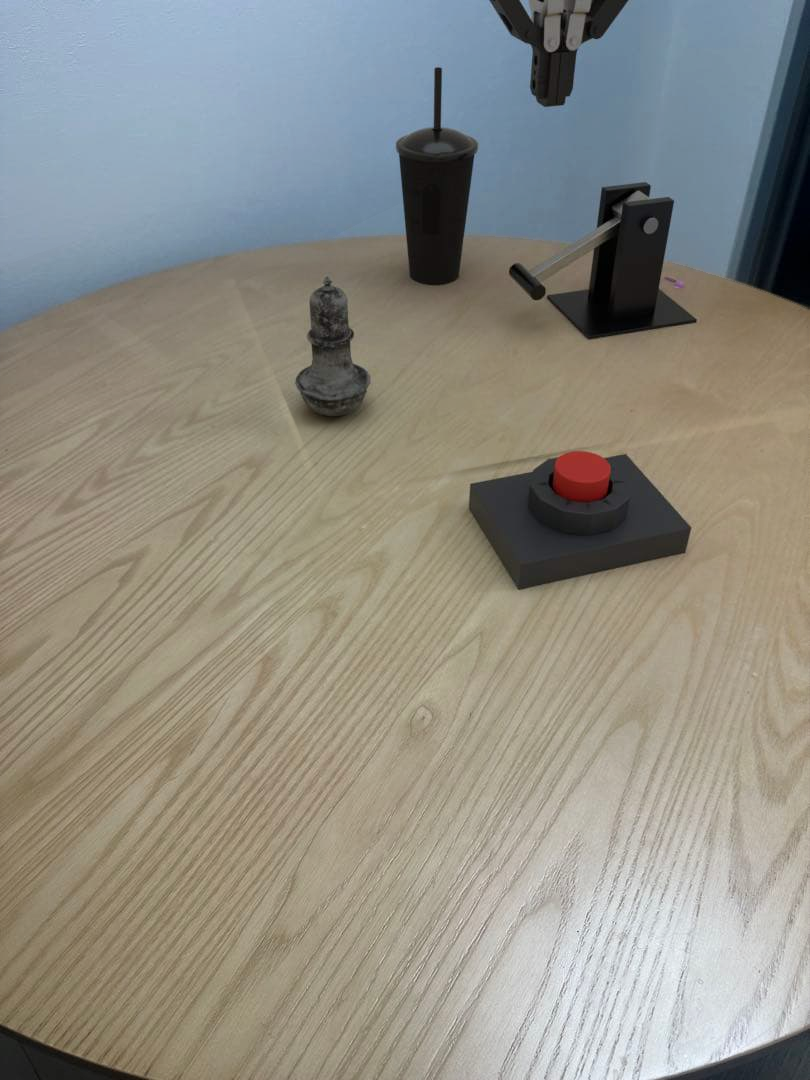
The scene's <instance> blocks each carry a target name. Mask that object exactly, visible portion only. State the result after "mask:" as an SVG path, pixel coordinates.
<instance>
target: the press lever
mask: <svg viewBox="0 0 810 1080" xmlns="http://www.w3.org/2000/svg"><path fill="white" fill-rule="evenodd" d="M647 199H652V198H651V197H650V196H649V197H648V196H646V195H645V194H643V193H642V192H640V191H639V190H638V191H636V192H635V193H633V194H632V195H630V196H628V197H627V198H625V199H624V200H622V201H621V202H619V203H617V204H616V205H614V206H613V207H612V211H613V213H614V216H615V217H614V218H613V219H611V220H609V221H608V222H606V223H605V224H603V225H601V226H600V227H598V228H597V227H596V228H595V229H593V230H591V231H590V232H589V233H587V234H585V235H584V236H582V237H581V238H579V239H577V240H576V241H574V242H573V243H571V244H569V245H568V246H566V247H565V248H563V249H562V250H559V251H558V252H557V253H555V254H553V255H552V256H551V257H549V258H547V259H546V260H544V261H543V262H541V263H539V264H538V265H536V266H534V267H533V268H531V269H530V270H528V269H527V268H526V267H525V266H524V265H523V264H522V263H520V262H516V263H513V264H512V265H511V266H509V270H508V275H509V277H510V278H511V279H512V280H513V281H514V282H515V283H516V284H517V285H518V286H519V287H520V288H521V289H522V290H523V291H524V292H525V293H526V294H527V295H528V296H529V298H531V299H532V300H533V301H537V302H538V301H540V300H542V299H544V297H545V295H546V292H547V289H546V287H545V285H543V284H542V282H543V281H545V280H546V279H548V278H550V277H551V276H553V275H555V274H556V273H558V272H559V271H561V270H563V269H564V268H566V267H567V266H569V265H571V264H572V263H574V262H576V261H577V260H578V259H580V258H582V257H583V256H585V255H587V254H588V253H589V252H592V251H594V248H596V247H598V246H599V245H601V244H602V243H604V242H606V241H607V240H609V239H610V238H612V237H614V236H615V235H617V234H618V233H619V229H620V222H621V215H622V208H623V203H624V202H631V201H639V200H647Z"/></svg>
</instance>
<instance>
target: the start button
mask: <svg viewBox="0 0 810 1080" xmlns="http://www.w3.org/2000/svg"><path fill="white" fill-rule="evenodd" d="M558 457H559V458H558V459H557V460H556V462H555V468H554V476H553V489H554V491H555V493H556V494H557V495H559V496H561V497H563V498H565V499H567V500H569V501H576V502H584V503H588V502H593V501H598V500H601V499H602V498H603V497H604V496H605V495H606V494H607V491H608V485H609V478H610V472H611V468H610V465H609V463H608V462H607V461H606V460H605V459H604V458H605V457H603V456H601V455H599V454H596V453H595V452H591V451H585V450H576V451H575V450H574V451H567V452H565V453H563V454H561V455H560V456H558Z"/></svg>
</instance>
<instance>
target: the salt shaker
mask: <svg viewBox="0 0 810 1080" xmlns="http://www.w3.org/2000/svg"><path fill="white" fill-rule="evenodd" d="M332 283H333V281H332V279H331V278H330V277H329V276H327V275H326V277H325V278H324V279H323V281H322V284H323V286H320V287H319V288H317V289H315V290H314V291H313V292H312V293H311V295H310V296H309V313H310V315H309V316H310V317H309V318H310V328H311V329H309V330H308V331H307V333H306V339H307V341H308V342H310V344H311V358H312V360H311V364H310V365H309V366H306V367H304V368H303V369H302V370H301V371H299V372H298V374H297V375H296V377H295V381H294V384H295V387H296V389H297V390H298V391H299V393H300V396H301V398H302V400H303V402H304V403H305V405H306V406H307V407H308V408H309V409H310V410H311V411H313V412H314V413H317V414H318V415H322V416H326V417H342V416H346V415H348V414H350V413H352V412H354V411H355V410H356V409H357V408H358V407H360V405H362V403H363V401H364V399H365V397H366V395H367V390H368V388H369V386H370V384H371V375H370V374H369V372H368V371H367V369H365V368H364V367H363V366H361V365H359V364H356V363H353V359H352V351H351V348H352V347H351V341H352V340H353V339H354V337H355V332H354V330H353V329H352V328H351V327H350V326H349V305H348V297H347V294H346V292H345V291H344V290H342V289H341V288H339V287H337V286H333V285H331V284H332Z"/></svg>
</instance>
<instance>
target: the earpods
mask: <svg viewBox="0 0 810 1080" xmlns="http://www.w3.org/2000/svg"><path fill="white" fill-rule="evenodd" d="M664 279H665V280H667V281H669V282H674V283H675V285H674V288H675V289H679V288H684V287H685V283H684V282H683V281H682V280H677V281H676V280H675V279H674V278H671V277H669V276H664Z"/></svg>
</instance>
